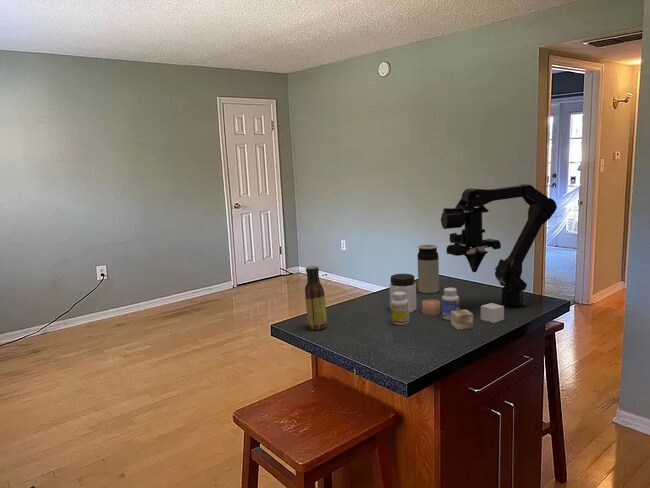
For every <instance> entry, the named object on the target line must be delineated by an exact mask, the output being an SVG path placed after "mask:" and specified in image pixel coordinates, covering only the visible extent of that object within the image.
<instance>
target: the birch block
mask: <svg viewBox="0 0 650 488" xmlns="http://www.w3.org/2000/svg"><path fill="white" fill-rule="evenodd" d="M450 324H451V326H452V327H454V328H455V329H456V330H466V329H473V328H474V314H473V313H472V312H470V310H467V309H459V310H455V311H451V320H450Z"/></svg>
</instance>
